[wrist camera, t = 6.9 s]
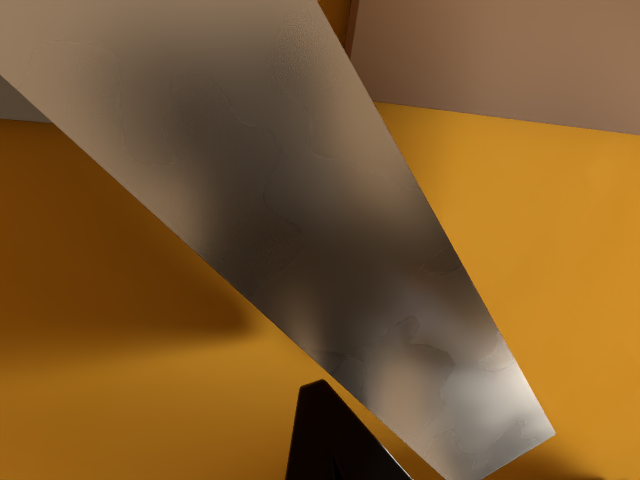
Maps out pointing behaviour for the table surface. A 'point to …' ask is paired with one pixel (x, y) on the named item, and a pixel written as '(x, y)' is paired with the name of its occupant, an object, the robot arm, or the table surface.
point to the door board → (503, 58)
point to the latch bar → (285, 199)
